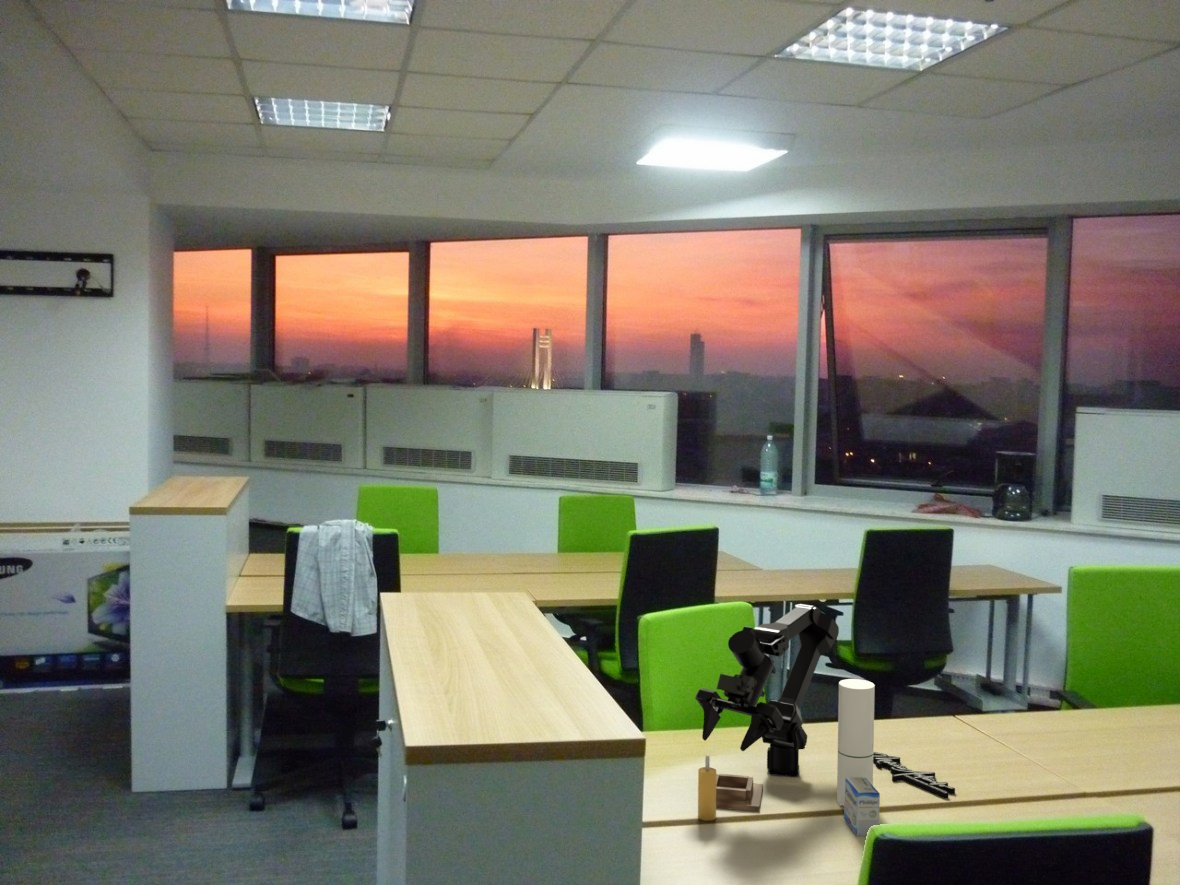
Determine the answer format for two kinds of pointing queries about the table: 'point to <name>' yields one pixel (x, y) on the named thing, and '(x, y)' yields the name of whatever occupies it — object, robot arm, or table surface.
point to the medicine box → (861, 805)
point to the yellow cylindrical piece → (707, 792)
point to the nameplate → (912, 775)
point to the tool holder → (738, 792)
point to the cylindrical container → (855, 732)
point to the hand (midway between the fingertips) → (722, 744)
